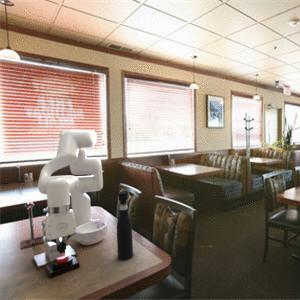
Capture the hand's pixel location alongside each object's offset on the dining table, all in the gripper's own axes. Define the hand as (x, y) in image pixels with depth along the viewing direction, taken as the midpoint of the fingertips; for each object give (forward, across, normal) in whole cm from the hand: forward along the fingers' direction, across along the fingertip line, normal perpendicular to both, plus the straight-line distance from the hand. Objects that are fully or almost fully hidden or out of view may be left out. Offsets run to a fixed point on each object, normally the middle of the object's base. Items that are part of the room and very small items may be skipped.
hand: (61, 251), depth 97 cm
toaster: (+6, 0, +13) cm, 14 cm away
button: (+4, 0, 0) cm, 4 cm away
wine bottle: (+8, +22, -10) cm, 25 cm away
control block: (+8, 0, 0) cm, 8 cm away
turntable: (+7, 0, +13) cm, 15 cm away
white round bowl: (+8, +17, +19) cm, 27 cm away
